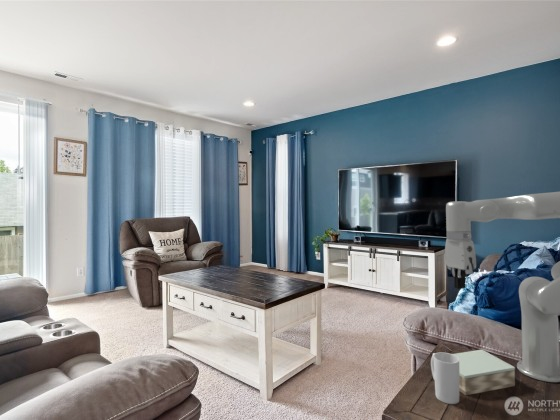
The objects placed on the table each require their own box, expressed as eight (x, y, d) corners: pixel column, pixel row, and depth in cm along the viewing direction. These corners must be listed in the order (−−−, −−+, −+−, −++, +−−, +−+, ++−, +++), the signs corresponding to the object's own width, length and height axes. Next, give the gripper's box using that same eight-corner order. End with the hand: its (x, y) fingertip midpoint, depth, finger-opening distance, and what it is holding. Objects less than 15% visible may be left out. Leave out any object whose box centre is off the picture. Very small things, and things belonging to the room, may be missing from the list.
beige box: (481, 366, 112) (480, 352, 112) (514, 385, 100) (514, 370, 100) (436, 373, 108) (436, 359, 108) (465, 395, 96) (465, 379, 96)
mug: (465, 402, 93) (464, 361, 92) (445, 406, 91) (444, 364, 91) (441, 384, 102) (440, 346, 102) (422, 387, 101) (421, 349, 101)
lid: (481, 351, 112) (481, 349, 112) (515, 369, 100) (515, 367, 100) (435, 358, 108) (435, 356, 108) (464, 378, 96) (464, 376, 96)
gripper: (485, 237, 107) (486, 292, 108) (452, 234, 122) (453, 282, 122) (466, 238, 106) (467, 294, 106) (434, 235, 120) (435, 284, 121)
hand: (459, 287), depth 114 cm, fingers closed
